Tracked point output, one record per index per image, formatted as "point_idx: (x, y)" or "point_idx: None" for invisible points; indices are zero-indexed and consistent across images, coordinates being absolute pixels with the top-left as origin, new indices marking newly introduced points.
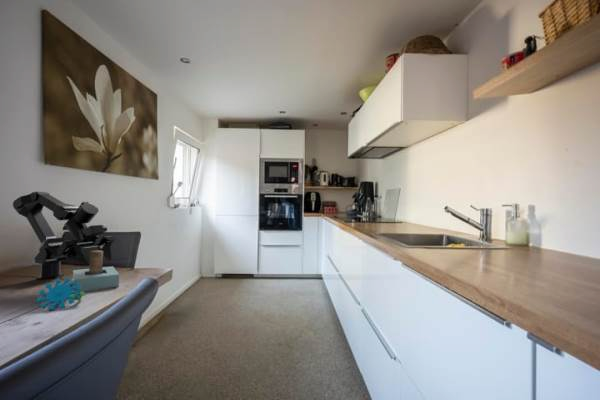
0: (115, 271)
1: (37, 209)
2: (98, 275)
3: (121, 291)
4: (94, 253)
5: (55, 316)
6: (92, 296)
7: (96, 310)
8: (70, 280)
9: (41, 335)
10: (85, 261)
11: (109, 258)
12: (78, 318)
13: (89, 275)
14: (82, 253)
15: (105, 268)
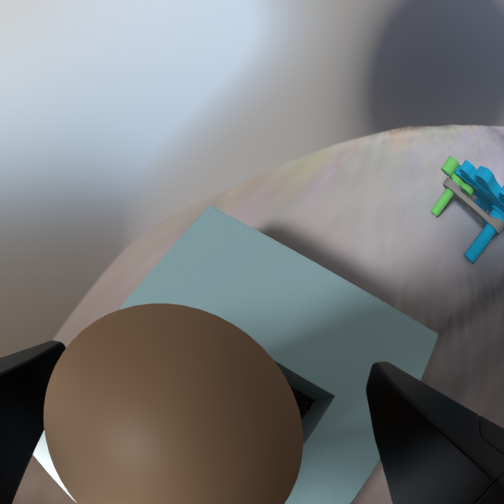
0: (142, 294)
1: None
2: (294, 298)
3: (279, 181)
4: (278, 372)
5: None
6: (383, 226)
7: (421, 131)
8: (500, 191)
9: (501, 139)
10: (401, 371)
11: (57, 361)
12: (457, 134)
13: (326, 361)
14: (466, 449)
15: None
